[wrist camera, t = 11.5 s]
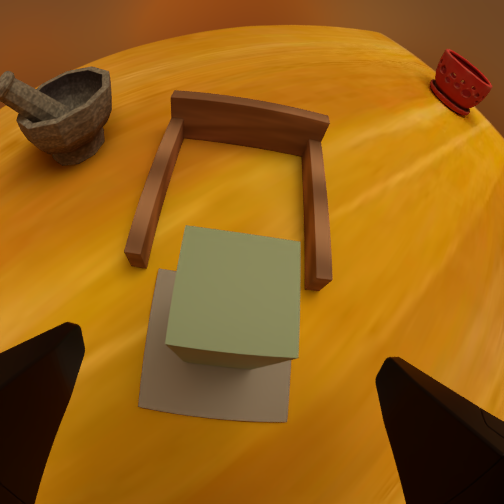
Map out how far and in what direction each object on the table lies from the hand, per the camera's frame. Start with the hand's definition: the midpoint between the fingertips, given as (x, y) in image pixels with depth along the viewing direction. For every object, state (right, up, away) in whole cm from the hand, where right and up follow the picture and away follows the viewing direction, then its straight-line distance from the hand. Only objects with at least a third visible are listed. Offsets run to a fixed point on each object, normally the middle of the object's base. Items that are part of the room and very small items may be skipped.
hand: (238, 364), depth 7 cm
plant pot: (+45, +38, +40) cm, 71 cm away
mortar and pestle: (-18, +14, +17) cm, 29 cm away
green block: (-2, -3, +12) cm, 12 cm away
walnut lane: (-1, +7, +17) cm, 18 cm away
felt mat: (-2, -3, +12) cm, 12 cm away
